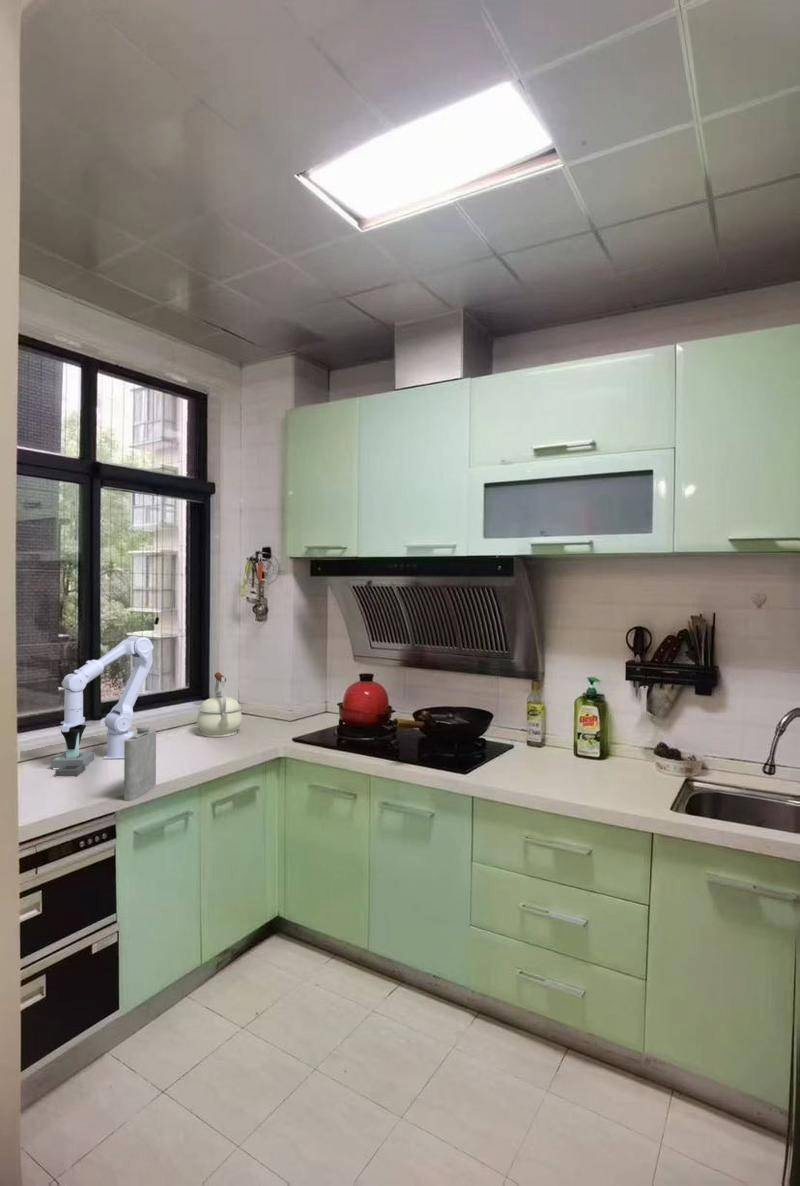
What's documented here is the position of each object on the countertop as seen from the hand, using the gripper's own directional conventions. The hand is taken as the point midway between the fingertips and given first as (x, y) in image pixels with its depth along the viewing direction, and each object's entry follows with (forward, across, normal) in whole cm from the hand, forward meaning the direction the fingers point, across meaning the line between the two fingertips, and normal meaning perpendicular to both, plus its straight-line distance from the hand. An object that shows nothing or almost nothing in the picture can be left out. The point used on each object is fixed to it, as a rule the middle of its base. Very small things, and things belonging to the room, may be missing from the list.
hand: (73, 747), depth 216 cm
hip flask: (+6, +30, +32) cm, 44 cm away
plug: (+3, 0, 0) cm, 3 cm away
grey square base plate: (+6, +10, +3) cm, 12 cm away
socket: (+6, 0, 0) cm, 6 cm away
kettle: (+6, -41, +42) cm, 59 cm away
